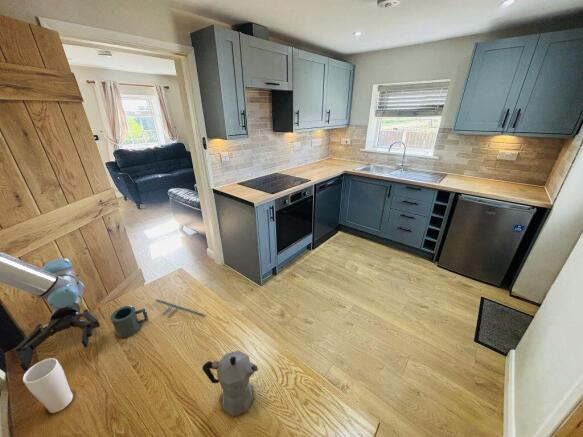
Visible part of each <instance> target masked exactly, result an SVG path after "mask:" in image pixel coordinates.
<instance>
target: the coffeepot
mask: <svg viewBox="0 0 583 437" xmlns="http://www.w3.org/2000/svg"><path fill="white" fill-rule="evenodd" d="M211 370H216V377H217V378H215V375H214V373H213V372H212V371H211ZM202 371H203V372H204V374H205V375H206V377H207V379H208V380H209V381H210V382H211V383H212V384H219V385H220V387H221V389H222V397H221V398H222V410H223V411H224V412H226V413H227V414H229V415H231V416H232V417H235V416H238V415H241V414H243V413H246V412H247V410H248V408H249V407H250V405H251V404H252V402H253V400H254V398H253V393H252V387H251V384H250V377H252V376H253V375H254V374H255V373H256V372H258V371H259V366H258V365H256V364H255V363H252V362H251V361H250V356H249V355H248V354H246V353H244V352H243V351H240V350H235V351H232V352H227V353H225V354H224V355H223V356H222V357H221V359H220V360H219V361H218V360H217V361H216V360H214V361H206V362H205V363H204V364H203V366H202Z"/></svg>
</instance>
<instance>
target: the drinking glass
mask: <svg viewBox="0 0 583 437" xmlns="http://www.w3.org/2000/svg"><path fill="white" fill-rule="evenodd" d="M22 381H23V384H24V385H25V387H26V389H27V390H28V391H29V392H30V394H31V395H33V397H34V398H35V399H37V400H38V401H39V403H41V405H43V406H44V407H45V409H46V410H47V411H48V412H49V413H50V414H55V413H58V412H60V411H62V410H64V409H65V408H66V407H68V406H69V405H70V403H71V402H72V400H73V399H74V394H73V392H72V390H71V387H70V385H69V383H68V379H67V377H66V374H65V370H64V369H63V367H62V365H61V363H60V362H59V360H58V359H56V358H53V357H50V358H45V359H42V360H41V361H38V362H37V363H35V364H33V365H32V366H31V367H29V368H28V370H26V371H25V373H24V374H23V376H22Z"/></svg>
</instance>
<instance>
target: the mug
mask: <svg viewBox="0 0 583 437" xmlns="http://www.w3.org/2000/svg"><path fill="white" fill-rule="evenodd" d="M141 313H142V315H143V317H144V318H141V319H140V320H139V316H138V315H140V314H141ZM148 321H149V314H148V311H147V309H146V307H145V308H144V307H143V308H141V309H137V310H136V307H134V306H133V305H124V306H122V307H119V308H117V309H115V310H114V311H113V312H112V313H111V314H110V322H111V324H112V327H113V330H114V331H115V334H116V337H118V338H120V339H124V338H125V339H126V338H128V337H131V336H133V335H135V334H136V333H137V332H138V331H139V330H140V328H141V324H143V323H146V322H148Z"/></svg>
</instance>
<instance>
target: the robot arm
mask: <svg viewBox="0 0 583 437" xmlns="http://www.w3.org/2000/svg"><path fill="white" fill-rule="evenodd" d="M0 284H1V285H3V286H7V287H9V288H12V289H15V290H18V291H21V292H24V293H26V294H29V295H30V294H31V295H34V296H36V297H39V298H41V299H44V300H46V302H47V303H48V305H49V306H50V307H51V308H52V312H51V315H50V319H49V321H48V323H47V324H43V325H42V324H41V323H39V324H37V325H36V326H35V328H34V330H32V331H31V333H29V334H28V335H27V336H26V337H25V338H24V339H23V340H22V341H21V342H20V343H19V344H18V345H17V346H16V347H15V348H14V352H15V353H16V355H17V357H19V360H20V364H19V366H20V368H21V369H22V370H23V372H27V371H28V370H29V369H30V365H31V361H32V359H33V355H34V350H36V349H37V348H38V347H39V346H40V345H42V344H43V343H44V342H46V341H47V339H49V338H50V337H53V336H54V335H55V334H57V333H59V332H62V331H64V330H68V329H70V328H71V327H72V328H76V329H81V330H82V336H81V344H82V346H83V348H84V349H85V348H87V347H88V344H89V338H90V337H92V336H93V335H94V334H93V333H94V330H95V329H96V328H97V329H98V328H99V327H101V324H100V322H99V320H98V319H97V317H95V316H94V315H93V314H91V313H90V311H89V308H85V309H84V310H83V312H81V309H82V303H83V298H84V293H85V285H84V283H83V282H82V281H81V280H79V279H78V277H77V274H76V272H75V270H74V267H73V264H72V263H71V261H70V259H68V258H66V257H65V258H56V259H53V260H51V261H48V262H46V263H45V264H44V265H43V267H42V268H41V267H38V266H35V265H33V264H31V263H28V262H27V261H23V260H21V259H19V258H16V257H13V256H12V255H9V254H8V253H7V254H6V253H4V252H2V251H0ZM81 318H83V319H84V320H82V319H81ZM85 319H86V321H85Z"/></svg>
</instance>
